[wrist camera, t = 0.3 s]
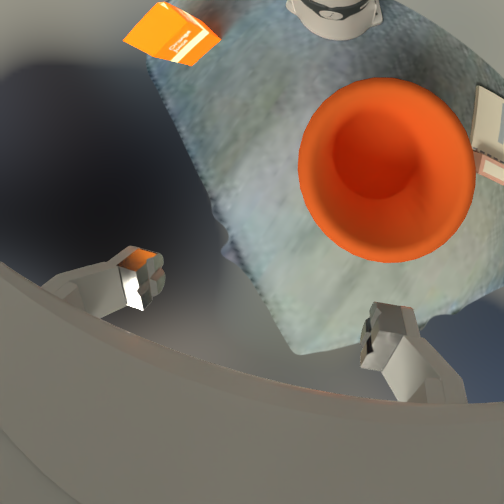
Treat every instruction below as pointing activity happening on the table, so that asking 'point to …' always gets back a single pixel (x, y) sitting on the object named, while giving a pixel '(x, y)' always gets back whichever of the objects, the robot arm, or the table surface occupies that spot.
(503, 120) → the cream flat block
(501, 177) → the pink box
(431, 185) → the flowerpot
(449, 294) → the table surface
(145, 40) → the orange juice
